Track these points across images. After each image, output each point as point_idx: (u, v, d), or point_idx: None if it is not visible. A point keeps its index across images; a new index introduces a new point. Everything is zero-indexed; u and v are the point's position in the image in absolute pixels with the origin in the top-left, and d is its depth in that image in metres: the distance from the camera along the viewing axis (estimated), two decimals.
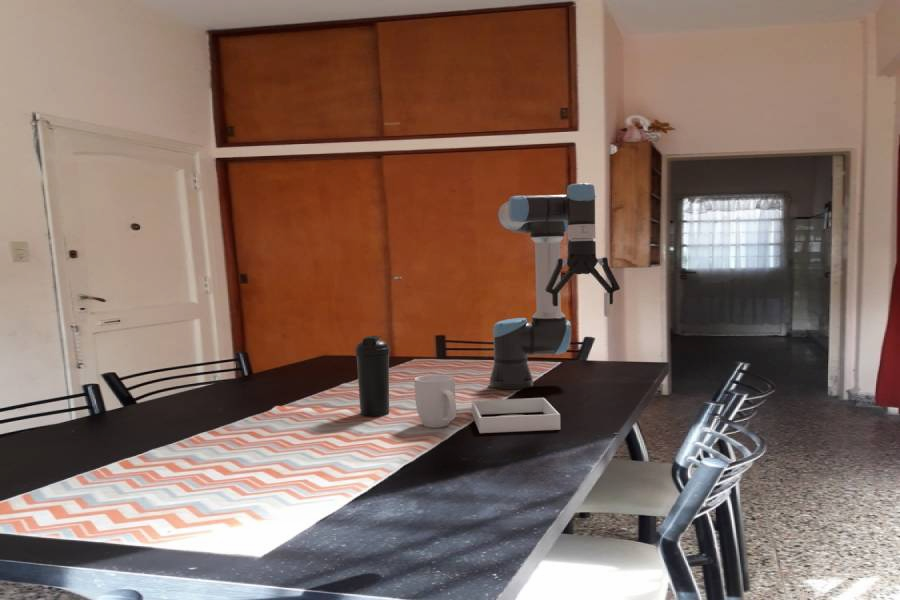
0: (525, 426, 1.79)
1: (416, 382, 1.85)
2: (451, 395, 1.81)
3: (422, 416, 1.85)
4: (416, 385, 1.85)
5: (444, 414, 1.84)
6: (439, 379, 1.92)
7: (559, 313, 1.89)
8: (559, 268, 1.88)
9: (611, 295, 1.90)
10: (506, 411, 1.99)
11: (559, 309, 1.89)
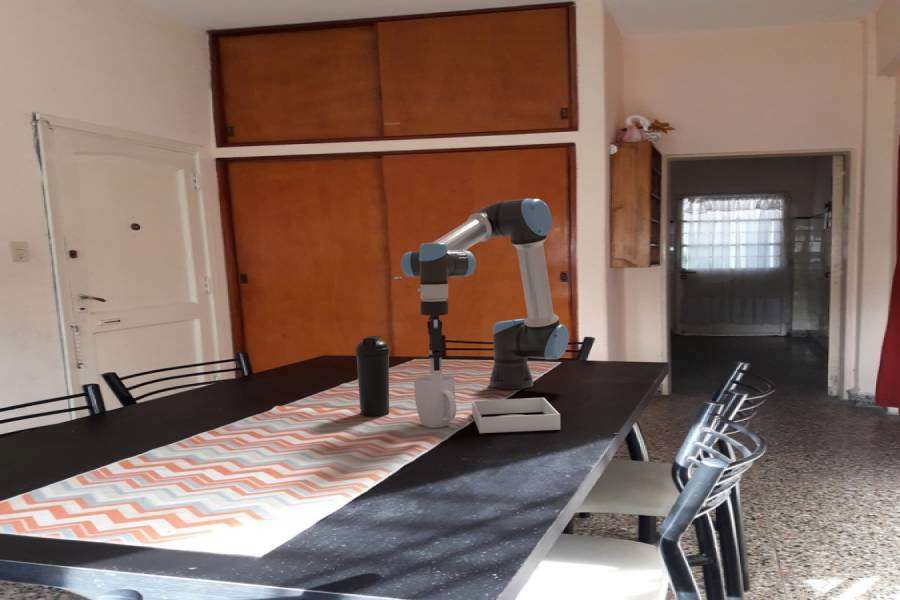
0: (525, 426, 1.79)
1: (416, 382, 1.85)
2: (451, 395, 1.81)
3: (422, 416, 1.85)
4: (416, 385, 1.85)
5: (444, 414, 1.84)
6: None
7: None
8: None
9: (433, 361, 1.78)
10: (506, 411, 1.99)
11: None
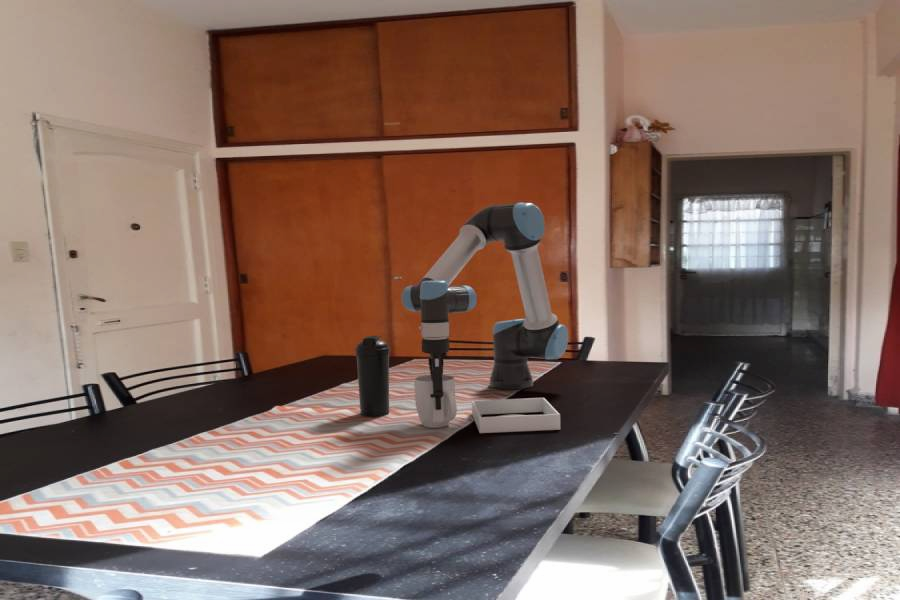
0: (525, 426, 1.79)
1: (416, 382, 1.85)
2: (451, 395, 1.81)
3: (422, 416, 1.85)
4: (416, 385, 1.85)
5: (444, 414, 1.84)
6: None
7: None
8: None
9: (435, 400, 1.79)
10: (506, 411, 1.99)
11: None
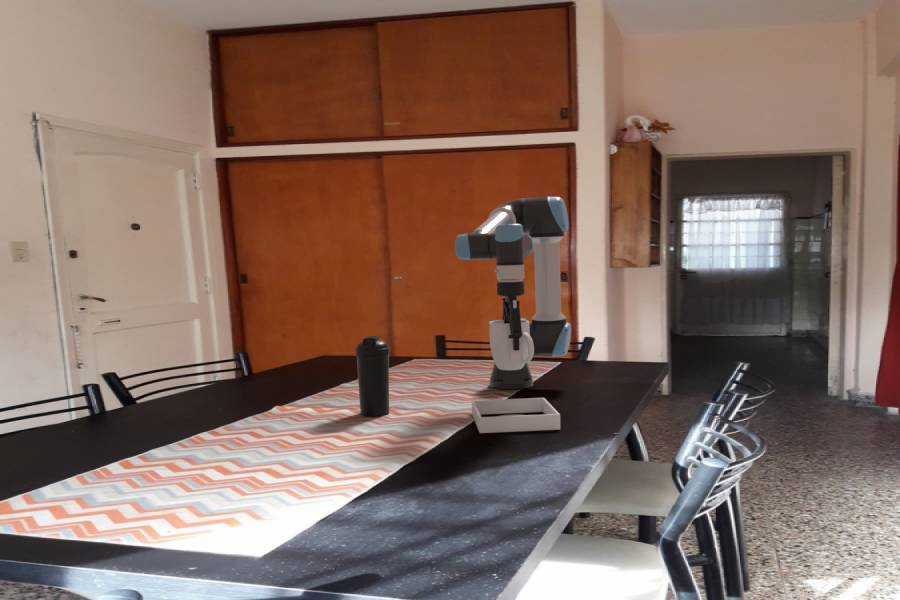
0: (525, 426, 1.79)
1: (492, 325, 1.86)
2: (529, 336, 1.82)
3: (498, 359, 1.86)
4: (492, 328, 1.86)
5: None
6: None
7: None
8: None
9: (513, 341, 1.80)
10: (506, 411, 1.99)
11: None
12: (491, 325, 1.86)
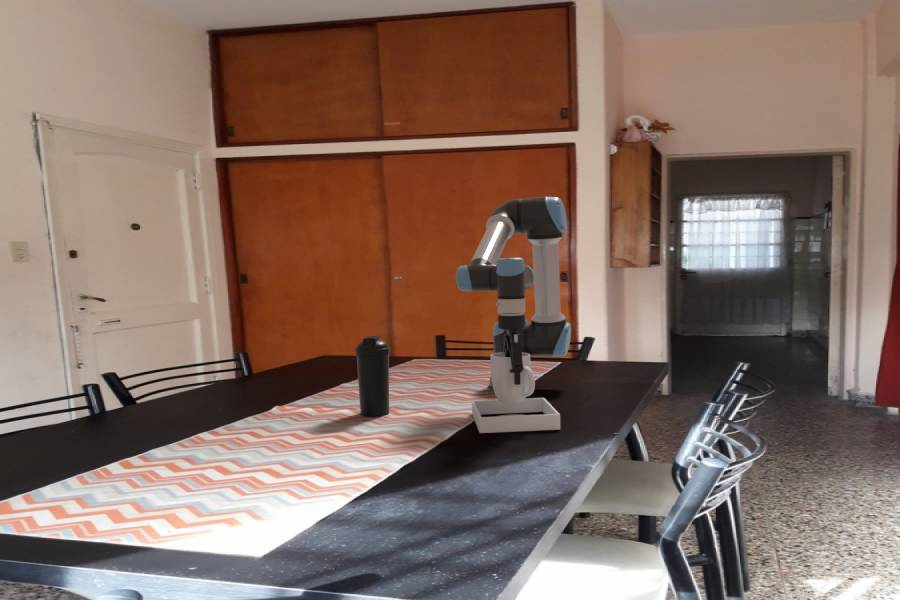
0: (525, 426, 1.79)
1: (493, 358, 1.87)
2: (530, 370, 1.82)
3: (499, 392, 1.86)
4: (493, 361, 1.87)
5: None
6: None
7: None
8: None
9: (514, 375, 1.81)
10: (506, 411, 1.99)
11: None
12: (492, 358, 1.87)
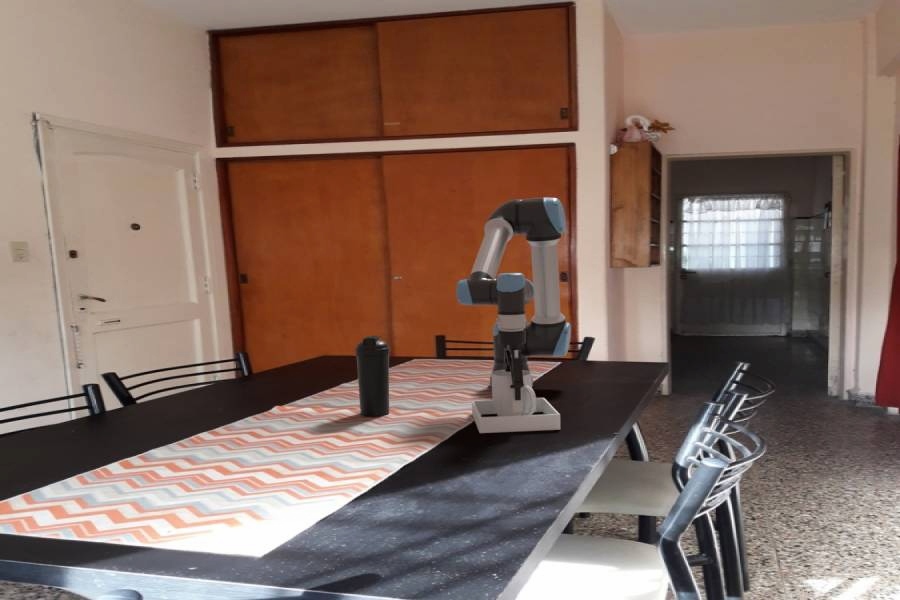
0: (525, 426, 1.79)
1: (494, 377, 1.87)
2: (531, 390, 1.83)
3: (500, 410, 1.87)
4: (494, 380, 1.87)
5: None
6: None
7: None
8: (504, 353, 1.95)
9: (515, 391, 1.81)
10: None
11: None
12: (494, 377, 1.87)
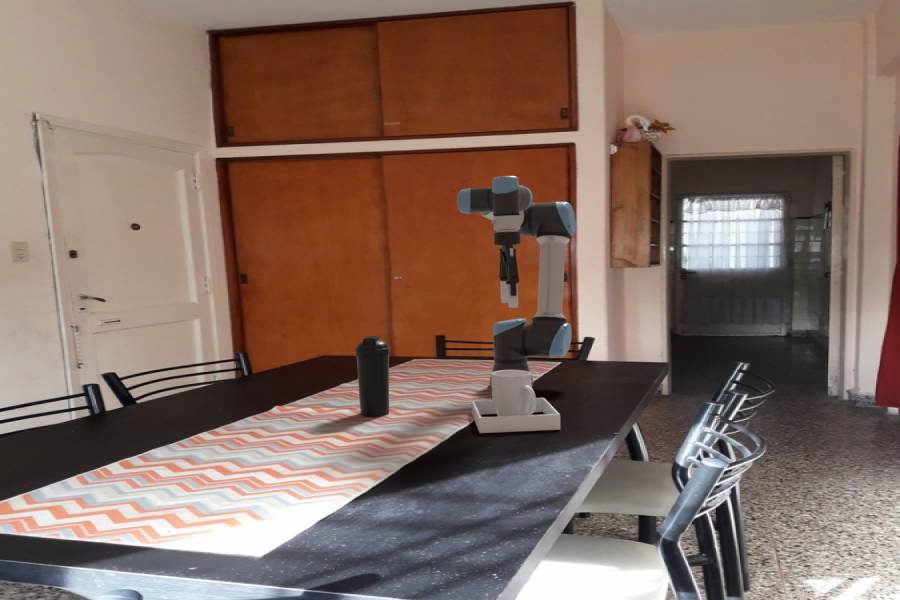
0: (525, 426, 1.79)
1: (494, 377, 1.87)
2: (531, 389, 1.83)
3: (500, 411, 1.87)
4: (494, 380, 1.87)
5: (522, 408, 1.86)
6: (513, 374, 1.95)
7: (501, 298, 2.05)
8: None
9: (510, 287, 1.90)
10: None
11: (501, 294, 2.05)
12: (493, 377, 1.88)
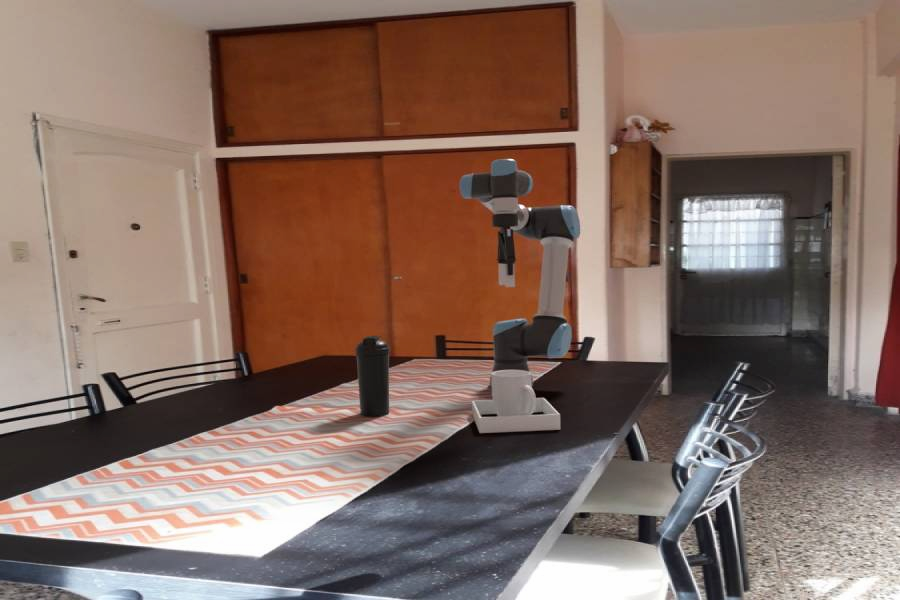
0: (525, 426, 1.79)
1: (494, 377, 1.87)
2: (531, 389, 1.83)
3: (500, 411, 1.87)
4: (494, 380, 1.87)
5: (522, 408, 1.86)
6: (513, 374, 1.95)
7: None
8: None
9: (507, 266, 1.94)
10: None
11: None
12: (493, 377, 1.88)
